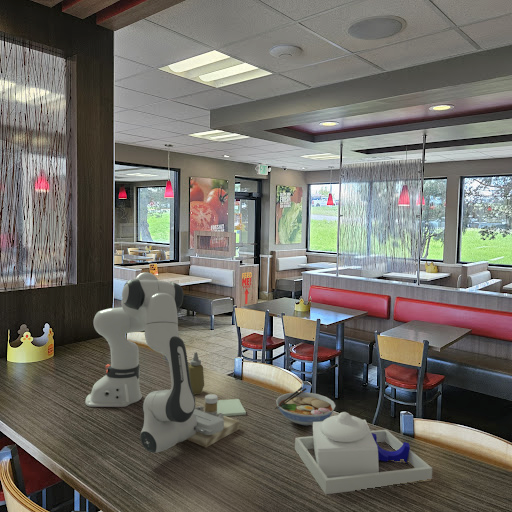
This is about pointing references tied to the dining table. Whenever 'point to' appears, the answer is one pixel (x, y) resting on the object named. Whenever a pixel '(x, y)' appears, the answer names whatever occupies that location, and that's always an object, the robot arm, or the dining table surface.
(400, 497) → the dining table surface
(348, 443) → the white block with dome
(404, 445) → the cable clip
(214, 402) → the sprinkles bottle
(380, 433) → the grey rectangular tray
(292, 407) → the ramen bowl
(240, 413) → the pad
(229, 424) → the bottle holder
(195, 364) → the squeeze bottle
